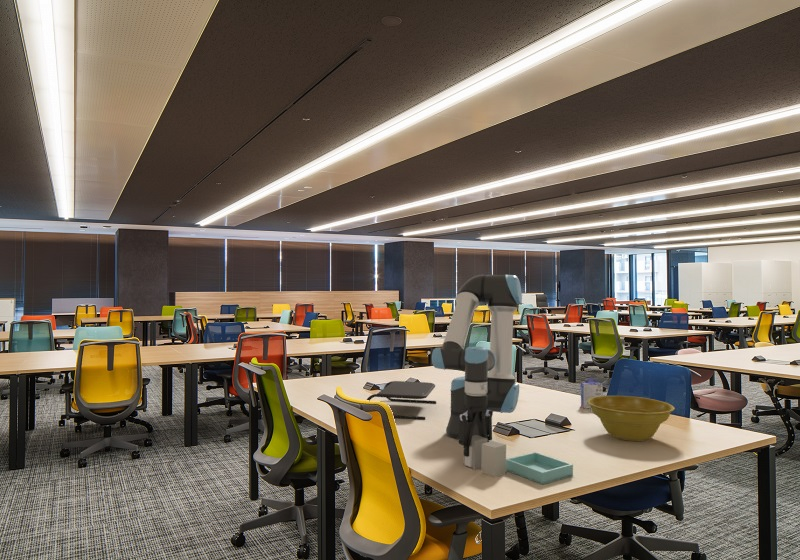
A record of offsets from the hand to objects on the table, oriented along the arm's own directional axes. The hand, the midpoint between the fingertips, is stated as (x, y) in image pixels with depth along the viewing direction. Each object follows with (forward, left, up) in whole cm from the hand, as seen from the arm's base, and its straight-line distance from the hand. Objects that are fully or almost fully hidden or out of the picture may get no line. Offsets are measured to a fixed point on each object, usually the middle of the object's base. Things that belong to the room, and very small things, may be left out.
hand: (475, 464), depth 177 cm
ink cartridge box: (-35, +111, -1) cm, 116 cm away
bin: (+16, +12, 0) cm, 20 cm away
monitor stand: (-81, +27, -1) cm, 86 cm away
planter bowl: (+7, +77, -1) cm, 77 cm away
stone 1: (0, 0, 0) cm, 0 cm away
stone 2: (+8, 0, 0) cm, 9 cm away
